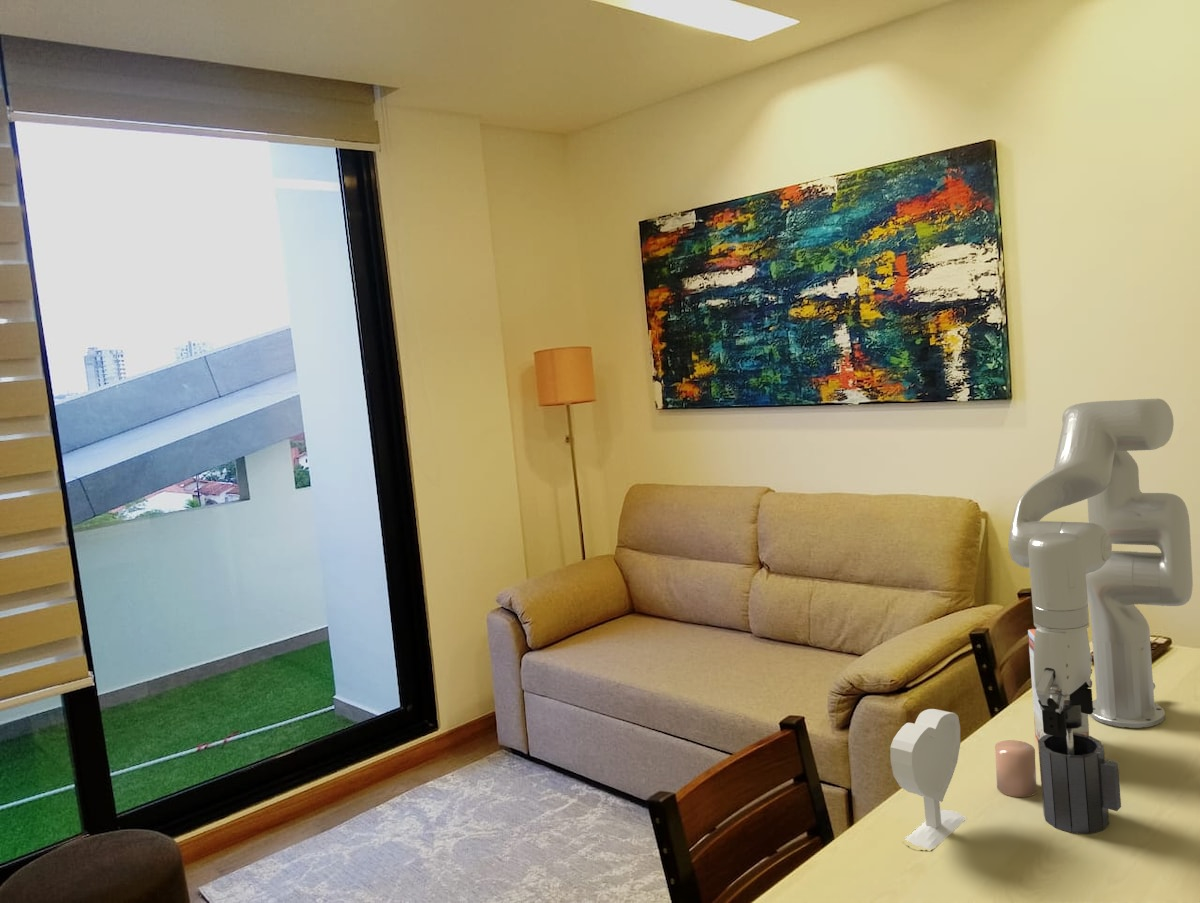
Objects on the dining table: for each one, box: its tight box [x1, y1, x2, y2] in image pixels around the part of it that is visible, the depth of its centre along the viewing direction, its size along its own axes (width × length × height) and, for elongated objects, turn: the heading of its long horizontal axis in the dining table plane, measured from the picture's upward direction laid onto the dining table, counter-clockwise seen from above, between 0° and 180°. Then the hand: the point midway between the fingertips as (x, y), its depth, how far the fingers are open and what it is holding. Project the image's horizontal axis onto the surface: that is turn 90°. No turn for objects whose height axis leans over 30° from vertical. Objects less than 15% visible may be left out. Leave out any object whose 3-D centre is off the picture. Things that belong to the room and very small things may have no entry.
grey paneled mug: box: [1037, 732, 1122, 835], centre depth 141 cm, size 9×11×12 cm
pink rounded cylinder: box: [994, 739, 1037, 798], centre depth 153 cm, size 6×6×7 cm
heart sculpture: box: [889, 708, 967, 850], centre depth 144 cm, size 16×5×18 cm, turn 133°
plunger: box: [1056, 700, 1082, 755], centre depth 142 cm, size 6×6×15 cm
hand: (1068, 723), depth 141 cm, fingers open, 9 cm apart
